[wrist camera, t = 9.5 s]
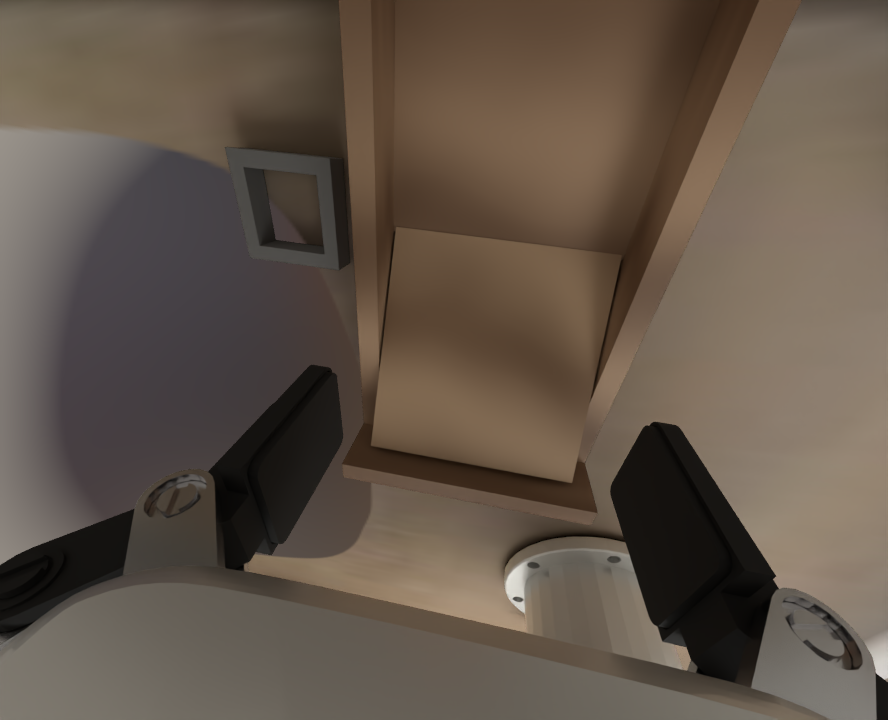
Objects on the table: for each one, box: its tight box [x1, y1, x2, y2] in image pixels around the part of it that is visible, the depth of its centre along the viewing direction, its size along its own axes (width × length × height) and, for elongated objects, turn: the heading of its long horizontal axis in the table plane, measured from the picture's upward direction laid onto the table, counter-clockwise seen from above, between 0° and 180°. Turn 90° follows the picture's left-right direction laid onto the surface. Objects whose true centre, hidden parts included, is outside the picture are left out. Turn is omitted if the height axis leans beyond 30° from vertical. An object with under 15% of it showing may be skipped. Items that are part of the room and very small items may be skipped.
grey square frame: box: [225, 147, 350, 270], centre depth 14 cm, size 4×4×1 cm
